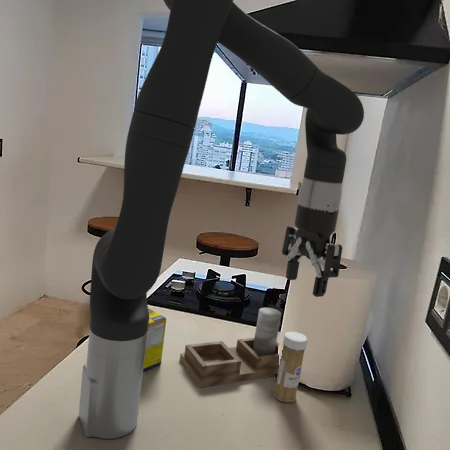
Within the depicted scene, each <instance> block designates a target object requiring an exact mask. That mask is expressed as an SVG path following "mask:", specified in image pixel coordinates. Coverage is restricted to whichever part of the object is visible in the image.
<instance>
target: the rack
mask: <svg viewBox="0 0 450 450" xmlns="http://www.w3.org/2000/svg"><path fill="white" fill-rule="evenodd" d="M281 317H282V312H281V311H280V310H278V309H276V308H272V307H261V308H259V309H258V315H257V322H256V327H255V333H254V337H248V338H240V339H237V341H236V346H234V347H233V346H232V347H229V346H228V345H227V344H226V343H225V342H224V341H222V340H219V341H211V342H201V343H200V342H199V343H194V344H193V343H192V344H185V349H184V352H181V353H180V355H179V361H180V362H181V363H182V365H183V366H184V368H185V369H186V370H187V372H188V373H189V374H190V375H191V377H192V378H193V380H194V381H195V382H196V384H197V385H198V386H199V387H200V388H203V387H210V386H216V385H222V384H223V385H224V384H229V383H235V382H241V381H248V380H254V379H261V378H267V377H274V376H276V375H275V374H278V370H279V354H278V346H279V344H280V343H279V342H278V334H279V330H280V323H281V319H282V318H281Z"/></svg>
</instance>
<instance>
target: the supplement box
mask: <svg viewBox="0 0 450 450" xmlns="http://www.w3.org/2000/svg"><path fill="white" fill-rule="evenodd" d="M148 311H149V325H148V333H147V342H146V350H145V358H144V367H143V373H144V372H146V371H148V370H151V369H153V368H155V367H157V366H161V365H162V358H163V349H164V342H165V340H164V339H165V333H166V325H167V324H166V323H167V317H166V316H164V315H163V314H161V313H159V312H156V311H155V310H153V309H151V308H149V307H148Z"/></svg>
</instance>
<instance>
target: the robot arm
mask: <svg viewBox="0 0 450 450" xmlns="http://www.w3.org/2000/svg"><path fill="white" fill-rule="evenodd" d="M163 2H164V5H165V6H166V7H167V8H168V10H169V11H170V12H169V17H168V21H167V26H166V30H165V33H164V36H163V40H162V44H161V46H160V47H159V51H158V53H157V55H156V57H155V59H154V61H153V63H152V65H151V67H150V68H149V71H148V72H147V75H146V77H145V79H144V81H143V83H142V85H141V88H140V90H139V93H138V96H137V98H136V101H135V104H134V107H133V112H132V115H131V120H130V124H129V128H128V132H127V136H126V137H127V138H126V142H125V149H124V150H125V151H124V164H123V165H124V166H123V168H124V170H123V193H122V202H121V208H120V211H119V216H118V218H117V222H116V225H115V228H113V229H111V230H109V231H107V232H105V233H104V234H102V236H101V237H100V238H99V240H98V241H97V243H96V245H95V248H94V250H93V255H92V256H93V257H92V264H91V278H90V292H89V313H90V319H89V330H88V331H89V333H88V343H87V344H88V345H87V357H86V364H84V365H83V366H82V370H81V371H82V374H81V382H80V383H81V385H80V395H79V396H80V397H79V407H78V417H79V421H80V423H81V424H80V425H81V427H82V430H83V433H84V436H85V438H90V437H91V438H92V437H95V438H98V439H104V440H105V439H106V440H110V439H118V438H122V437H124V436H126V435H128V434H130V433H132V432H133V430H134V429H135V428H136V426H137V424H138V417H139V411H140V399H141V393H142V384H143V373H144V372H143V367H144V358H145V350H146V342H147V333H148V325H149V311H148V308H149V306H148V296H147V293H148V292H149V291H150V290H151V289H152V288H153V286H154V285H155V284H156V282H157V280H158V278H159V277H160V274H161V268H162V264H163V258H164V252H165V250H164V249H165V245H166V237H167V231H168V227H169V220H170V216H171V212H172V209H173V205H174V201H175V198H176V196H177V192H178V189H179V185H180V181H181V178H182V174H183V172H184V168H185V167H184V166H185V163H186V161H187V158H188V154H189V151H190V147H191V145H192V144H191V143H192V140H193V138H194V137H193V136H194V134H195V129H196V127H197V126H196V125H197V121H198V116H199V112H200V108H201V104H202V100H203V97H204V93H205V88H206V85H207V81H208V77H209V72H210V67H211V64H212V59H213V57H214V53H215V50H216V47H217V44H220V45H221V46H223V47H225V49H227V50H228V51H230V52H231V53H232V54H234V55H235V56H236V57H238V58H239V59H240V60H241V61H243V62H244V63H245V64H246V65H248V66H249V67H250V68H251V69H253V70H254V71H255V72H256V73H257V74H259V76H260V77H261V78H263V79H264V80H265V81H267V82H268V84H270V85H271V86H272V87H273V88H274V89H275V90H276V91H277V92H279V93H280V94H281V95H282V96H283V97H284V98H285V99H286V100H288V101H289V102H290V103H292V104H293V105H295V106H298V107H301V108H305V109H306V112H305V120H304V126H305V130H304V131H305V144H306V146H305V147H306V152H307V153H306V155H307V156H306V161H305V167H304V173H303V178H302V183H301V185H300V188H299V194H298V200H297V207H296V212H295V213H296V214H295V217H294V226H289V225H288V226H287V227H286V229H285V230H286V231H285V235H284V239H283V244H282V245H283V246H282V250H281V253H282V255H283V256H286V260H287V266H286V274H285V275H286V276H285V278H286V279H287V281H296V280H297V278H298V274H299V267H300V260H301V259H302V258H303V257H306V259H309V261H310V263H311V265H312V266H313V267H314V270H315V274H316V276H315V277H314V284H313V289H312V295H313V296H314V297H316V298H317V297H318V298H319V297H320V298H321V297H324V295H326V292H327V287H328V283H329V280H330V278H338V277H339V273H340V267H341V259H342V253H343V245H342V244H337V243H336V244H334V243H331V236H332V234H333V233H335V231H336V227H337V223H338V216H339V211H340V208H341V207H340V205H341V199H342V194H343V193H342V192H343V191H342V190H343V183H344V175H345V171H346V166H347V164H346V163H347V154H346V152H345V151H344V150H342V149H340V148H339V147H338V143H337V142H338V141H337V135H350V134H352V133H354V132H356V131H357V130H358V129H359V128H360V127H361V125H362V124H363V122H364V118H365V109H364V105H363V103H362V100H361V99H360V98H359V96H358V95H357V94H356V93H355V92H353V90H351V88H349V87H347V85H344V84H343V83H341V82H340V81H339V80H337V79H336V78H334V77H332V76H331V75H329V74H327V73H325V72H323V71H322V70H321V69H320V68H319V67H318V66H317V64H316V63H314V61H312V60H311V58H310V57H308V56H307V55H306V54H305V53H304V52H303V51H302V50H301V48H299V47H298V46H297V45H295V44H294V43H293V42H292V41H290V40H289V39H288V38H285V37H284V36H282V35H280V33H277V32H276V31H274V30H272V29H270V28H269V27H267V26H266V25H264V24H262V23H261V22H259V21H258V20H256V19H254V18H253V17H251V15H249V14H247V13H246V12H245V11H244V10H243V9H242V8H241V7H239V6H238V5H237V3H235V1H234V0H163ZM289 246H290V248H289ZM322 268H323V269H322Z"/></svg>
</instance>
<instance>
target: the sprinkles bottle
mask: <svg viewBox="0 0 450 450" xmlns="http://www.w3.org/2000/svg"><path fill="white" fill-rule="evenodd" d="M282 344H283V345H282V347H283V350H282V356H281V359H280V365H279V370H278V375H276V385H275V389H274V392H273V395H274V397H275V399H276V400H278V401H280V402H282V403H286V404H287V403H288V404H290V403H293V402H295V401H296V399H297V391H298V386H299V383H300V377H301V373H302V365H303V361H304V355H305V351H306V348H307V346H308V345H307V344H308V337H307V336H305V335H304V334H303V333H300V332H297V331H287V332H285V333H284V336H283V341H282Z"/></svg>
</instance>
